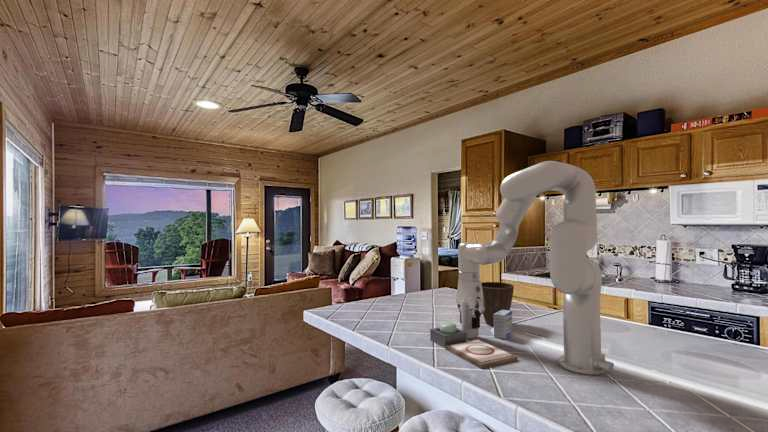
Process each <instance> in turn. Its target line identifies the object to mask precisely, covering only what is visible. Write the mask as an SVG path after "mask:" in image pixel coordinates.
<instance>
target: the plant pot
mask: <svg viewBox="0 0 768 432" xmlns="http://www.w3.org/2000/svg"><path fill="white" fill-rule="evenodd" d="M481 284H482V289H483V300H484V308H485V310H484V312H483V313H482V316H483V319H484V322H485V324H486V325H487V326H492V327H494V322H493V314H495V313H496V312H498V311H500V310H509V311H511V307H512V301H513V298H514V297H513V296H514V288H515V285H514V284H512V283H508V282H507V283H506V282H500V281H499V282H498V281H484V282H482V281H481Z"/></svg>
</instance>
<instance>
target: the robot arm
mask: <svg viewBox="0 0 768 432" xmlns="http://www.w3.org/2000/svg"><path fill="white" fill-rule="evenodd" d="M499 191H500V195H501V197H502V198H503V199H502V201H501V203H500V205H499V206H498V209H496V212H495V218H496V219H497V221H498V224H499V227H498V230H497V232H496V235H495V237H494V238H493V239H492V241H489V242H481V243H478V242H466V241H465V242H460V243H459V244H458V246H457V254H458V255H457V258H458V260H457V261H458V263H457V265H458V281H457V290H456V291H457V293H456V295H457V296H456V299H455V303H456V305H457V309H458V312H459V322H460V324H461V325H462V320H461V300H462V299H463V298H464V299H466V301H467V302H468V306H469V308H470V309H471V311H472V315H473V317H472V328H473V329H475V328H479V329H480V328H481V317H482V315H483V312H484V310H485V308H484V300H483V289H482V284H481V282H482V281H481V279H480V277H481V276H480V275H481V274H480V265H481V266H485V265H492V264H497V263H500V262H502V261H504V260H505V259H506V258H507V257H508V255H509V254H510V251H511V250H512V248H513V247H514V245H515V243H516V241H517V238H518V234H519V226H520V225H521V223H522V221H523V219H524V217H525V216H526V214H527V212H528V211H529V209H530V208H531V206H532V204H533V203H534V201H535V199H536V198H537V196H538V195H539V194H541V193H544V192H547V191H552V192H553V191H555V192H562V193H563V194H564V200H563V206H562V211H563V212H562V213H563V214H562V215H563V218H562V219H563V220H562V221H560V222H558V223H557V224H556V225H555V226H554V227H553V228H552V229H551V232H550V236H549V242H548V243H549V273H550V275H549V277H550V280H551V283H552V285H553V287H554V288H555V289H556V290H557V291H558V292H560V293H562V294H563V298H562V300H563V302H562V319H563V321H562V322H563V324H562V325H563V327H562V328H563V355H560V356H559V357H558V359H557V360H558V364H559V366H560V367H562V369H563V368H564V369H565V370H568V371H571V372H572V373H573V372H574V373H577V374H582V375H590V376H591V375H594V376H596V375H603V374H605V373H607V372H608V373H612V372H613V371H614V367H615V364H614V362H612V361H610V360H606V354H604V353H602V337H601V336H602V335H601V333H602V332H601V327H602V326H601V295H602V284H603V274H602V270H601V268H600V267H599V264H598V263H597V262H596V261H595V260H593V259H592V258H589V257H588V254H587V253H588V251H590V250H592V249H593V248H595V246H596V244H597V241H598V224H597V223H598V222H597V221H598V220H597V219H598V217H597V192H596V185H595V182H594V180H593V178H592V177H591V174H589V173H588V172H587V171H585V170H584V169H582V168H580V167H578V166H575V165H573V164H569V163H566V162H560V161H556V160H545V161H541V162H538V163H536V164H534V165H531V166H528V167H526V168H523V169H520V170H518V171H516V172H513V173H511V174H509V175H507V176H506V177H504V178H503V180H502V182H501V183H500V187H499ZM475 306H477V308H475ZM475 310H477V312H476V313H475Z"/></svg>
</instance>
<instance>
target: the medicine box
mask: <svg viewBox="0 0 768 432" xmlns="http://www.w3.org/2000/svg"><path fill="white" fill-rule="evenodd" d="M493 322H494V326H493V337H494V338H496V339H497V338H498V339H502V340H507V339H508V338H509V337H510V336H511V335H512V334H513V333H512V332H513V311H512V310H510V311H509V310H500V311H498V312H496V313H495V314H493ZM511 333H512V334H511Z"/></svg>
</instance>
